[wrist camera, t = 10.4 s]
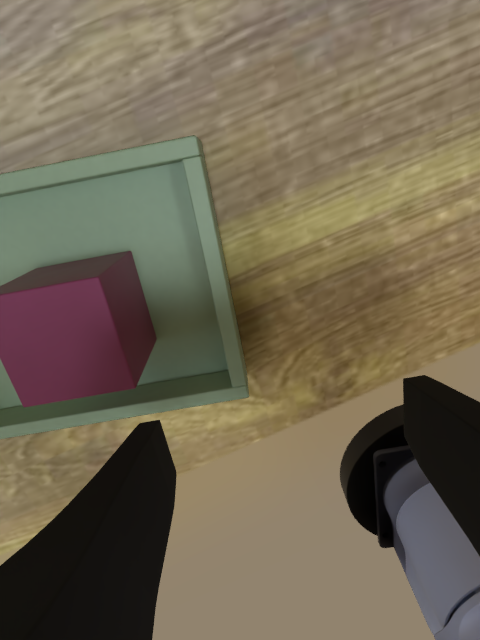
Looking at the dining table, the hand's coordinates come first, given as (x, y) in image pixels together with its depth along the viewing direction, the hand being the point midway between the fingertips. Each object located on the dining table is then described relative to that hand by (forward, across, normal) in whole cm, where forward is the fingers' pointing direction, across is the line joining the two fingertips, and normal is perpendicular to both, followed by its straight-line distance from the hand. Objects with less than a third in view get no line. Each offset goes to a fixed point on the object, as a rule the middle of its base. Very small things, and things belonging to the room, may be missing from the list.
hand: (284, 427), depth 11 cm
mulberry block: (+8, +8, -2) cm, 11 cm away
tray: (+8, +9, -3) cm, 13 cm away
